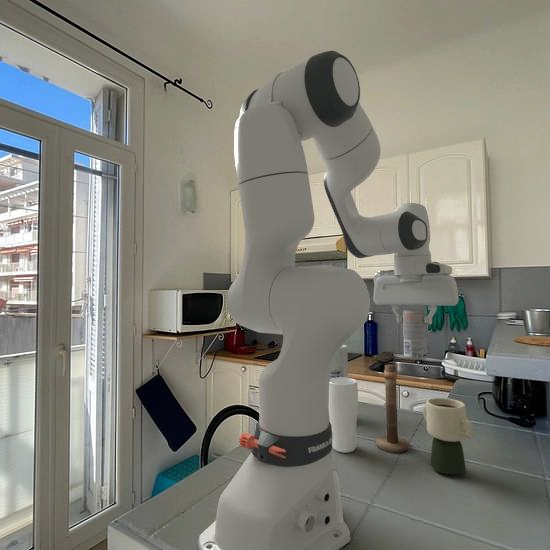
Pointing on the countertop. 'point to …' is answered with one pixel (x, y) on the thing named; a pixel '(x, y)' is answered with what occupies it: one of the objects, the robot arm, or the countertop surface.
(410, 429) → the countertop surface
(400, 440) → the post
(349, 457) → the countertop surface
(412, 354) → the energy drink
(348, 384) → the white tumbler
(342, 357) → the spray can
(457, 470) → the character mug
